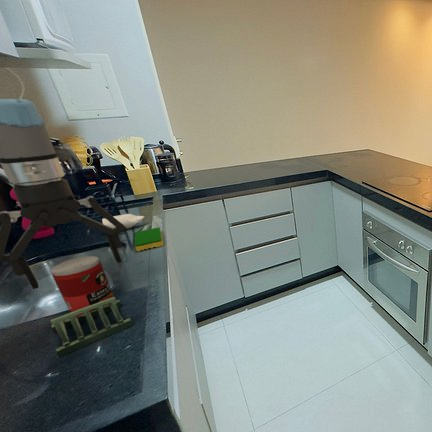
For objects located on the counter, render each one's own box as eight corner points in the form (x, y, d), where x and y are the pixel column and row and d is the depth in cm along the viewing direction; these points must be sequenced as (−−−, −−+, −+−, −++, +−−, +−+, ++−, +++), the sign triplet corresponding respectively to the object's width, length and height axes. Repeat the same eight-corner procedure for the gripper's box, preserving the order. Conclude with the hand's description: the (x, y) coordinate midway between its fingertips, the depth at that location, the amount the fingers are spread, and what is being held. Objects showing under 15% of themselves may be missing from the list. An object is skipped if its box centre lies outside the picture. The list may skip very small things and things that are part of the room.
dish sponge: (161, 232, 109) (159, 226, 108) (163, 245, 99) (161, 239, 98) (136, 238, 105) (134, 231, 104) (136, 252, 95) (134, 245, 94)
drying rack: (59, 357, 55) (42, 324, 52) (53, 330, 62) (38, 300, 59) (132, 325, 63) (121, 295, 60) (120, 304, 70) (110, 277, 67)
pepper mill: (30, 241, 103) (3, 185, 96) (26, 236, 107) (0, 183, 100) (59, 234, 109) (36, 181, 102) (54, 229, 113) (31, 178, 106)
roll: (147, 227, 114) (142, 213, 112) (106, 234, 108) (101, 220, 106) (147, 222, 119) (143, 209, 117) (108, 229, 112) (102, 216, 110)
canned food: (100, 313, 67) (82, 271, 63) (59, 317, 66) (38, 274, 62) (122, 293, 74) (107, 254, 70) (86, 296, 73) (69, 257, 69)
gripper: (-72, 199, 48) (-8, 306, 55) (122, 172, 66) (151, 256, 73) (-65, 192, 52) (-7, 292, 60) (115, 168, 70) (142, 248, 78)
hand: (80, 272), depth 67 cm, fingers open, 13 cm apart
